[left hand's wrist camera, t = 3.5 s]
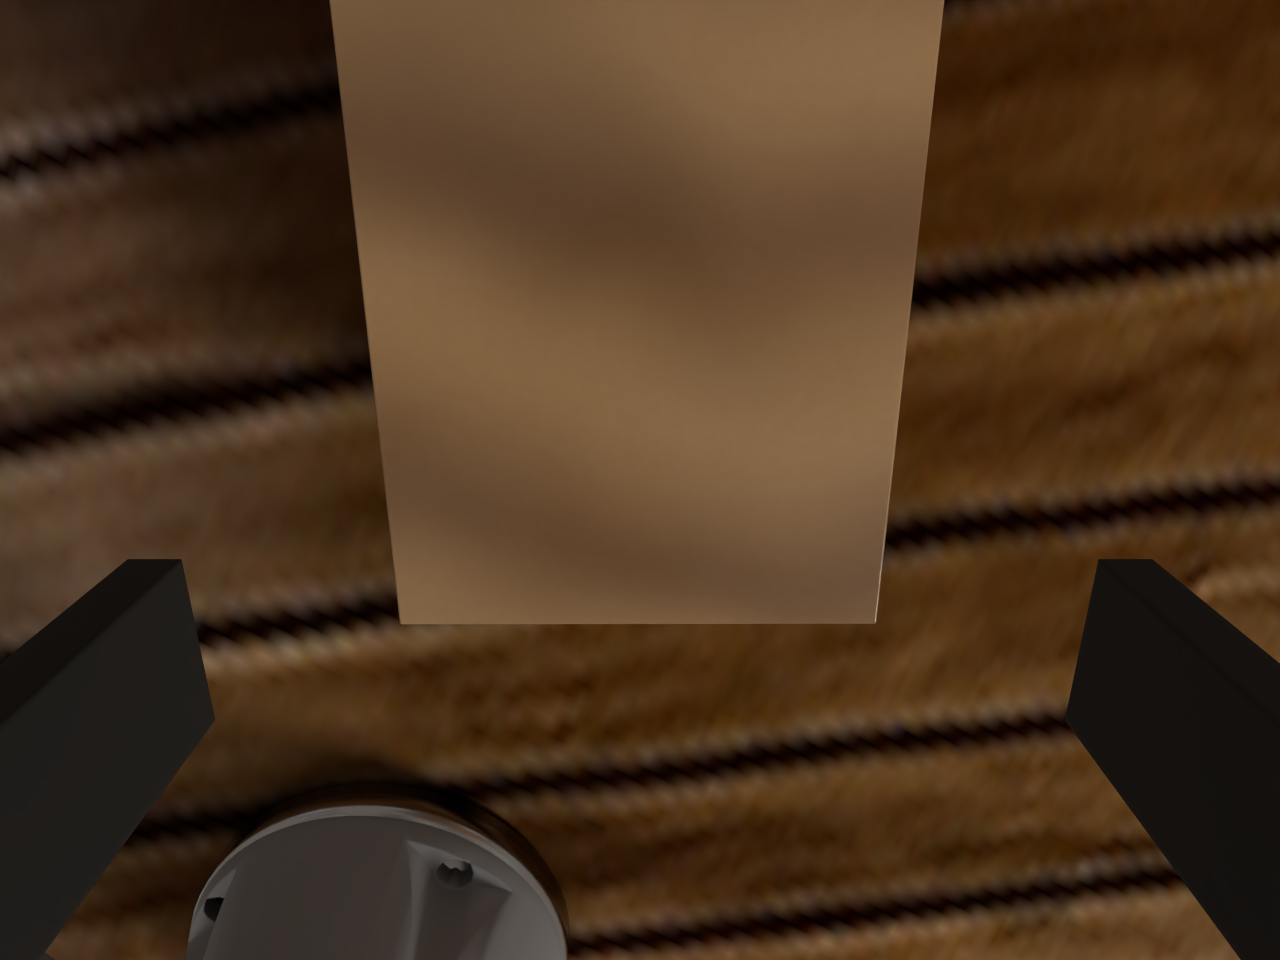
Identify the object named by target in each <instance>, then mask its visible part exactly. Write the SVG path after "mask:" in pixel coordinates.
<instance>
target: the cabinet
mask: <svg viewBox="0 0 1280 960" xmlns="http://www.w3.org/2000/svg"><path fill="white" fill-rule="evenodd" d="M943 7H944V0H330V9H331V17H332V26H333V35H334V44H335V53H336V62H337V70H338V79H339V88H340V97H341V106H342V115H343V123H344V132H345V141H346V150H347V159H348V168H349V176H350V185H351V194H352V203H353V212H354V221H355V229H356V238H357V247H358V256H359V265H360V274H361V282H362V291H363V300H364V309H365V318H366V327H367V335H368V344H369V353H370V362H371V371H372V380H373V388H374V397H375V406H376V415H377V424H378V433H379V441H380V450H381V459H382V468H383V477H384V486H385V494H386V503H387V512H388V521H389V530H390V539H391V547H392V556H393V565H394V574H395V583H396V592H397V600H398V609H399V618H400V623H401V624H874V623H876V620H877V611H878V602H879V593H880V583H881V574H882V565H883V556H884V547H885V538H886V528H887V519H888V510H889V501H890V492H891V483H892V474H893V464H894V455H895V446H896V437H897V428H898V419H899V409H900V400H901V391H902V382H903V373H904V364H905V355H906V345H907V336H908V327H909V318H910V309H911V300H912V290H913V281H914V272H915V263H916V254H917V245H918V236H919V226H920V217H921V208H922V199H923V190H924V181H925V171H926V162H927V153H928V144H929V135H930V126H931V116H932V107H933V98H934V89H935V80H936V71H937V62H938V52H939V43H940V34H941V25H942V16H943Z"/></svg>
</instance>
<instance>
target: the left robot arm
mask: <svg viewBox="0 0 1280 960" xmlns="http://www.w3.org/2000/svg"><path fill="white" fill-rule="evenodd" d="M214 721H215V718H214V713H213V708H212V703H211V698H210V694H209V689H208V684H207V679H206V675H205V670H204V665H203V660H202V655H201V651H200V646H199V641H198V636H197V632H196V627H195V622H194V617H193V612H192V608H191V603H190V598H189V593H188V589H187V584H186V579H185V574H184V569H183V565H182V560H181V559H128V560H126V561H125V562H124V563H123V564H122V565H120V566H119V567H118V568H117V569H115V570H114V571H113V572H112V573H110V574H109V575H108V576H107V577H106V578H104V579H103V580H102V581H101V582H99V583H98V584H97V585H96V586H95V587H93V588H92V589H91V590H90V591H88V592H87V593H86V594H85V595H84V596H82V597H81V598H80V599H79V600H77V601H76V602H75V603H74V604H73V605H71V606H70V607H69V608H68V609H66V610H65V611H64V612H63V613H62V614H60V615H59V616H58V617H57V618H55V619H54V620H53V621H52V622H51V623H49V624H48V625H47V626H46V627H44V628H43V629H42V630H41V631H40V632H38V633H37V634H36V635H35V636H33V637H32V638H31V639H30V640H28V641H27V642H26V643H25V644H24V645H22V646H21V647H20V648H19V649H17V650H16V651H15V652H14V653H13V654H11V655H10V656H9V657H8V658H6V659H5V660H4V661H3V662H2V663H0V960H55V959H53V958H52V957H51V956H49V955H48V954H47V953H45V951H46V950H47V948H48V947H49V946H50V944H51V943H52V942H53V940H54V939H55V937H56V936H57V935H58V933H59V932H60V931H61V929H62V928H63V927H64V925H65V924H66V922H67V921H68V920H69V918H70V917H71V916H72V914H73V913H74V912H75V910H76V909H77V907H78V906H79V905H80V903H81V902H82V901H83V899H84V898H85V897H86V895H87V894H88V892H89V891H90V890H91V888H92V887H93V886H94V884H95V883H96V882H97V880H98V879H99V877H100V876H101V875H102V873H103V872H104V871H105V869H106V868H107V867H108V865H109V864H110V862H111V861H112V860H113V858H114V857H115V856H116V854H117V853H118V852H119V850H120V849H121V847H122V846H123V845H124V843H125V842H126V841H127V839H128V838H129V837H130V835H131V834H132V832H133V831H134V830H135V828H136V827H137V826H138V824H139V823H140V822H141V820H142V819H143V818H144V816H145V815H146V813H147V812H148V811H149V809H150V808H151V807H152V805H153V804H154V803H155V801H156V800H157V798H158V797H159V796H160V794H161V793H162V792H163V790H164V789H165V788H166V786H167V785H168V783H169V782H170V781H171V779H172V778H173V777H174V775H175V774H176V773H177V771H178V770H179V768H180V767H181V766H182V764H183V763H184V762H185V760H186V759H187V758H188V756H189V755H190V753H191V752H192V751H193V749H194V748H195V747H196V745H197V744H198V743H199V741H200V740H201V738H202V737H203V736H204V734H205V733H206V732H207V730H208V729H209V728H210V726H211V725H212V723H213V722H214ZM1065 721H1066V722H1067V723H1068V725H1069V726H1070V728H1071V729H1072V730H1073V732H1074V733H1075V734H1076V736H1077V737H1078V738H1079V740H1080V741H1081V743H1082V744H1083V745H1084V747H1085V748H1086V749H1087V751H1088V752H1089V753H1090V755H1091V756H1092V758H1093V759H1094V760H1095V762H1096V763H1097V764H1098V766H1099V767H1100V768H1101V770H1102V771H1103V773H1104V774H1105V775H1106V777H1107V778H1108V779H1109V781H1110V782H1111V783H1112V785H1113V786H1114V788H1115V789H1116V790H1117V792H1118V793H1119V794H1120V796H1121V797H1122V798H1123V800H1124V801H1125V803H1126V804H1127V805H1128V807H1129V808H1130V809H1131V811H1132V812H1133V813H1134V815H1135V816H1136V818H1137V819H1138V820H1139V822H1140V823H1141V824H1142V826H1143V827H1144V828H1145V830H1146V831H1147V832H1148V834H1149V835H1150V837H1151V838H1152V839H1153V841H1154V842H1155V843H1156V845H1157V846H1158V847H1159V849H1160V850H1161V852H1162V853H1163V854H1164V856H1165V857H1166V858H1167V860H1168V861H1169V862H1170V864H1171V865H1172V867H1173V868H1174V869H1175V871H1176V872H1177V873H1178V875H1179V876H1180V877H1181V879H1182V880H1183V882H1184V883H1185V884H1186V886H1187V887H1188V888H1189V890H1190V891H1191V892H1192V894H1193V895H1194V897H1195V898H1196V899H1197V901H1198V902H1199V903H1200V905H1201V906H1202V907H1203V909H1204V910H1205V912H1206V913H1207V914H1208V916H1209V917H1210V918H1211V920H1212V921H1213V922H1214V924H1215V925H1216V927H1217V928H1218V929H1219V931H1220V932H1221V933H1222V935H1223V936H1224V937H1225V939H1226V940H1227V942H1228V943H1229V944H1230V946H1231V947H1232V948H1233V950H1234V951H1235V952H1236V954H1237V955H1238V957H1239V958H1240V959H1241V960H1280V663H1278V662H1277V661H1276V660H1275V659H1274V658H1272V657H1271V656H1270V655H1269V654H1267V653H1266V652H1265V651H1264V650H1263V649H1261V648H1260V647H1259V646H1258V645H1256V644H1255V643H1254V642H1253V641H1252V640H1250V639H1249V638H1248V637H1247V636H1245V635H1244V634H1243V633H1242V632H1240V631H1239V630H1238V629H1237V628H1236V627H1234V626H1233V625H1232V624H1231V623H1229V622H1228V621H1227V620H1226V619H1225V618H1223V617H1222V616H1221V615H1220V614H1218V613H1217V612H1216V611H1215V610H1214V609H1212V608H1211V607H1210V606H1209V605H1207V604H1206V603H1205V602H1204V601H1203V600H1201V599H1200V598H1199V597H1198V596H1196V595H1195V594H1194V593H1193V592H1192V591H1190V590H1189V589H1188V588H1187V587H1185V586H1184V585H1183V584H1182V583H1181V582H1179V581H1178V580H1177V579H1176V578H1174V577H1173V576H1172V575H1171V574H1170V573H1168V572H1167V571H1166V570H1165V569H1163V568H1162V567H1161V566H1160V565H1158V564H1157V563H1156V562H1155V561H1154V560H1152V559H1099V560H1098V565H1097V569H1096V574H1095V579H1094V584H1093V589H1092V593H1091V598H1090V603H1089V608H1088V612H1087V617H1086V622H1085V627H1084V632H1083V636H1082V641H1081V646H1080V651H1079V655H1078V660H1077V665H1076V670H1075V675H1074V679H1073V684H1072V689H1071V694H1070V698H1069V703H1068V708H1067V713H1066V717H1065ZM568 947H569V919H568V912H567V908H566V904H565V900H564V897H563V895H562V892H561V889H560V887H559V885H558V883H557V881H556V879H555V877H554V875H553V874H552V872H551V871H550V869H549V868H548V866H547V865H546V863H545V862H544V860H543V859H542V858H541V857H540V856H539V854H538V853H537V852H536V851H535V850H534V849H533V848H532V847H531V846H530V845H529V844H528V843H527V842H526V841H525V840H524V839H523V838H522V837H521V836H520V835H518V834H517V833H516V832H515V831H513V830H512V829H511V828H510V827H508V826H507V825H505V824H504V823H502V822H501V821H499V820H498V819H496V818H495V817H493V816H491V815H490V814H488V813H486V812H484V811H482V810H481V809H479V808H476V807H474V806H472V805H470V804H468V803H465V802H463V801H460V800H458V799H455V798H452V797H449V796H447V795H443V794H440V793H436V792H433V791H429V790H425V789H419V788H414V787H409V786H401V785H392V784H351V785H343V786H335V787H330V788H325V789H320V790H316V791H312V792H309V793H306V794H302V795H299V796H297V797H294V798H292V799H289V800H287V801H285V802H282V803H280V804H279V805H277V806H275V807H273V808H271V809H269V810H268V811H266V812H265V813H263V814H262V815H260V816H259V817H257V818H256V819H254V820H253V821H252V822H251V823H250V824H249V825H247V826H246V827H245V828H244V829H243V830H242V831H241V832H240V833H239V834H238V835H237V836H236V837H235V838H234V840H233V841H232V842H231V844H230V845H229V846H228V848H227V849H226V851H225V852H224V854H223V856H222V857H221V859H220V861H219V863H218V864H217V866H216V868H215V869H214V871H213V873H212V875H211V876H210V878H209V880H208V881H207V883H206V885H205V887H204V889H203V890H202V892H201V894H200V896H199V899H198V901H197V904H196V907H195V909H194V914H193V918H192V923H191V928H190V933H189V940H188V946H187V951H186V956H185V960H567V959H568Z"/></svg>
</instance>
